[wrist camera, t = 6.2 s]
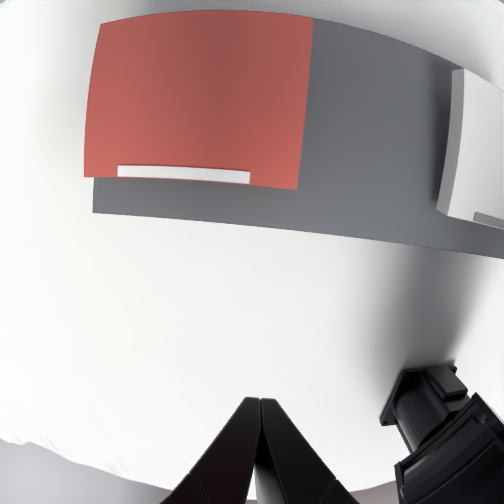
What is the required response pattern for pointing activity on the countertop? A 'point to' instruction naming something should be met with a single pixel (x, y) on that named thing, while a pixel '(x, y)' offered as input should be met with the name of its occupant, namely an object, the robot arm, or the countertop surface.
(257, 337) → the countertop surface
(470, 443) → the robot arm
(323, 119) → the switch box
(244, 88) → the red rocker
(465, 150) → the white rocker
